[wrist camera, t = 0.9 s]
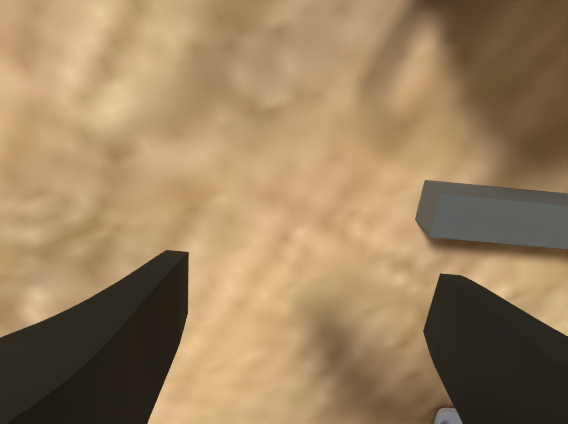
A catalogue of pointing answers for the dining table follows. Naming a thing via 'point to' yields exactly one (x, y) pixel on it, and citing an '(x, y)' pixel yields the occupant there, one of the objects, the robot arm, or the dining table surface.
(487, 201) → the plug
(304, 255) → the dining table surface
